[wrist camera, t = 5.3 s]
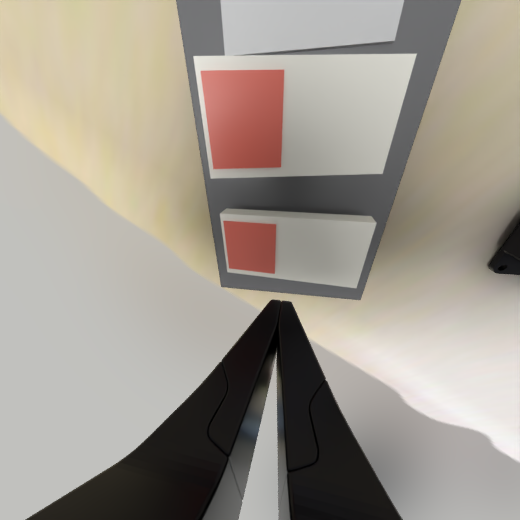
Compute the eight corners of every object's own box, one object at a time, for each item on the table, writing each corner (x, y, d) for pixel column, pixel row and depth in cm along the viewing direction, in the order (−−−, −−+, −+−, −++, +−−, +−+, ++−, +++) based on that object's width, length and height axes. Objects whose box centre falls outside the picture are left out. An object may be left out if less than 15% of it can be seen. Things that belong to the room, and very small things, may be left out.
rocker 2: (371, 216, 10) (377, 223, 9) (353, 278, 12) (356, 289, 11) (226, 208, 12) (219, 214, 11) (232, 264, 14) (226, 272, 13)
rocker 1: (398, 63, 8) (419, 52, 7) (371, 170, 10) (383, 174, 9) (199, 65, 8) (192, 54, 7) (214, 175, 10) (210, 179, 9)
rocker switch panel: (480, -186, 7) (642, -475, 4) (351, 276, 17) (363, 307, 14) (187, -117, 8) (120, -273, 5) (231, 267, 19) (218, 293, 16)
